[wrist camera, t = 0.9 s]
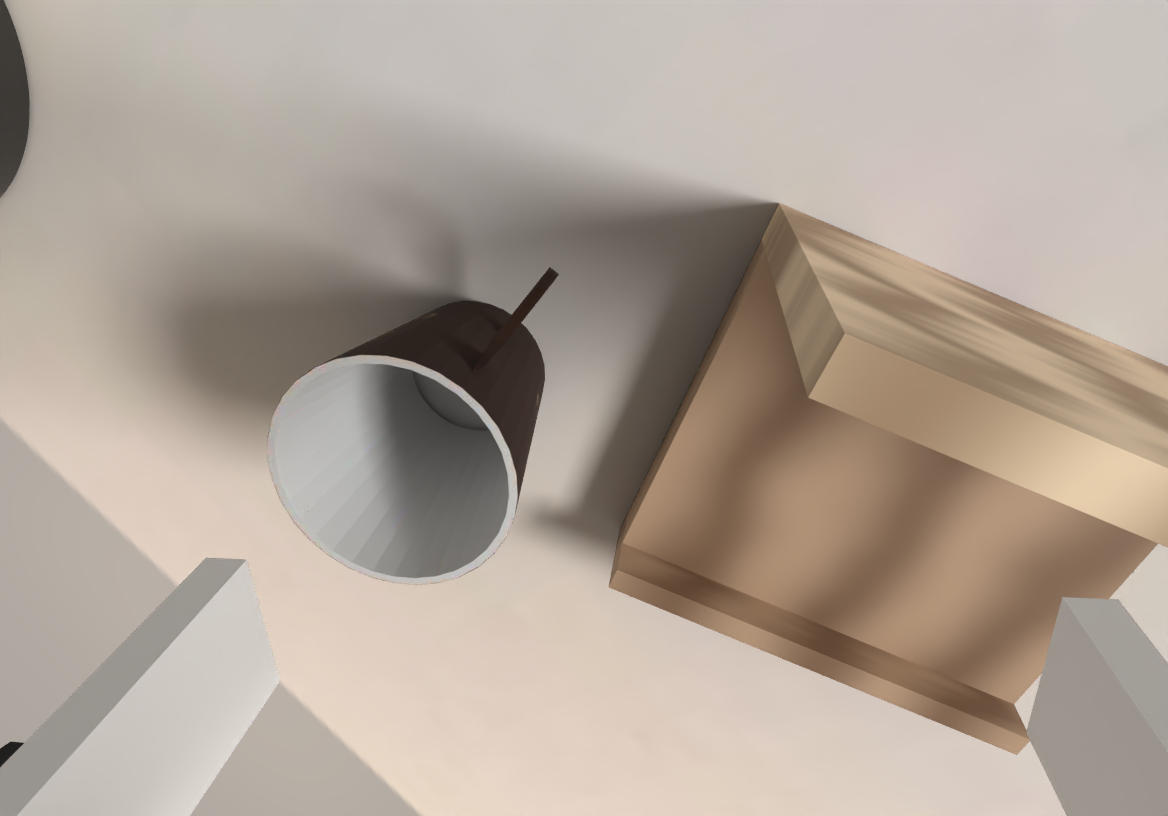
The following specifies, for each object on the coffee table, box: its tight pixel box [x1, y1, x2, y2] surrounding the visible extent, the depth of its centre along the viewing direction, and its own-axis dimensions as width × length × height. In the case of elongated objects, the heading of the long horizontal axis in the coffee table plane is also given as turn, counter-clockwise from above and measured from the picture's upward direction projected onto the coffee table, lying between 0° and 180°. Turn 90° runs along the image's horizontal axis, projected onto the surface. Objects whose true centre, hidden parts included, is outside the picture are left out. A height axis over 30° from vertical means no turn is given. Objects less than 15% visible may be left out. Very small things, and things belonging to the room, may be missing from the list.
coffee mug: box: [268, 268, 559, 585], centre depth 29 cm, size 12×9×10 cm
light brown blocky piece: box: [609, 203, 1168, 755], centre depth 26 cm, size 19×16×16 cm
